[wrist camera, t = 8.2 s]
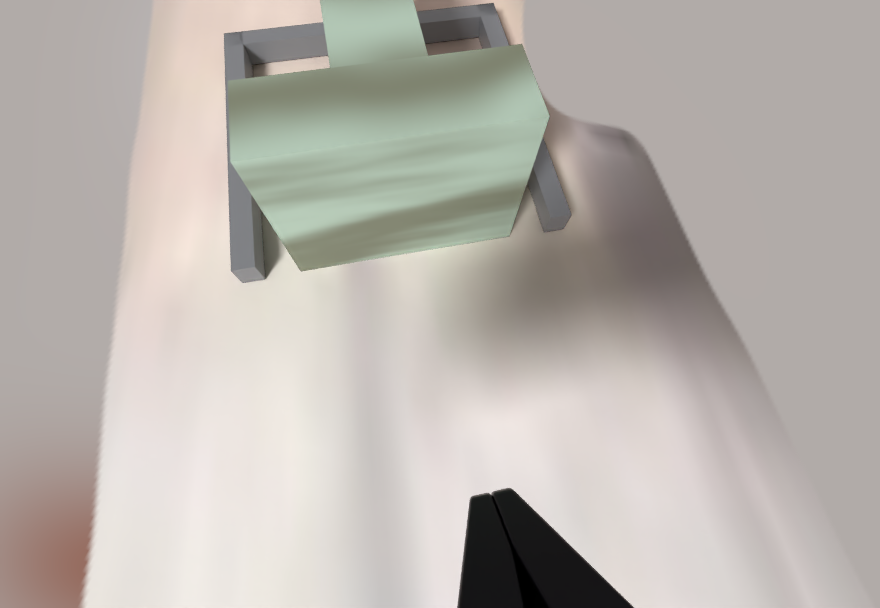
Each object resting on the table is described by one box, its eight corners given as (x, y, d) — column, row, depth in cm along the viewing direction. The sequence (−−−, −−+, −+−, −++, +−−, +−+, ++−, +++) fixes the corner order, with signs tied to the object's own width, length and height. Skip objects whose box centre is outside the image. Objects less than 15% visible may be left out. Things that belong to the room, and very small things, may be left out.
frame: (563, 228, 25) (571, 214, 24) (242, 282, 23) (230, 270, 22) (490, 23, 31) (493, 3, 30) (233, 54, 30) (223, 33, 28)
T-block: (509, 236, 25) (550, 116, 16) (300, 271, 24) (230, 161, 15) (457, 64, 30) (468, -96, 21) (283, 86, 29) (223, -73, 20)
